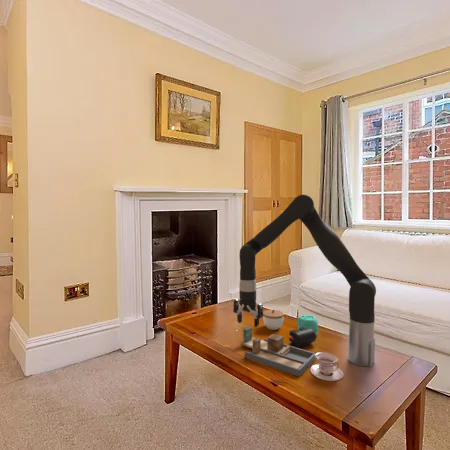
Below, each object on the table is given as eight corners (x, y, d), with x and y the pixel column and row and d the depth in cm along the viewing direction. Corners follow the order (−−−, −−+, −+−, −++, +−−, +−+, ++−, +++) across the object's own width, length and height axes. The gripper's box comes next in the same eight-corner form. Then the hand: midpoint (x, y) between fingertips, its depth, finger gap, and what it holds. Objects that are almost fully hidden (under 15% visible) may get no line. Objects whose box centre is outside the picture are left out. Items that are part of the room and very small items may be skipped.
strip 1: (290, 350, 135) (290, 335, 135) (281, 357, 129) (282, 342, 129) (250, 338, 147) (250, 325, 147) (240, 344, 141) (241, 330, 140)
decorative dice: (318, 336, 152) (318, 320, 152) (301, 336, 152) (301, 320, 152) (313, 330, 160) (313, 314, 160) (297, 330, 160) (297, 314, 160)
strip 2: (302, 366, 122) (302, 350, 122) (296, 371, 118) (297, 354, 118) (257, 351, 134) (257, 336, 134) (251, 356, 130) (251, 341, 130)
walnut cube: (283, 348, 136) (283, 336, 135) (277, 352, 132) (278, 340, 131) (272, 344, 139) (273, 333, 138) (267, 349, 135) (267, 337, 134)
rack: (316, 359, 130) (316, 353, 130) (299, 376, 116) (299, 370, 116) (264, 343, 144) (264, 338, 144) (244, 357, 131) (244, 351, 131)
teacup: (303, 372, 120) (304, 356, 120) (320, 361, 128) (321, 347, 128) (333, 385, 111) (333, 368, 111) (349, 373, 119) (349, 357, 119)
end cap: (299, 350, 138) (299, 335, 137) (288, 344, 144) (288, 329, 143) (315, 345, 143) (316, 330, 143) (304, 339, 149) (304, 325, 149)
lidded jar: (283, 332, 157) (284, 313, 157) (262, 331, 159) (262, 312, 158) (283, 324, 168) (283, 307, 167) (262, 323, 169) (263, 305, 169)
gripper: (265, 289, 141) (266, 325, 142) (239, 285, 149) (239, 318, 150) (257, 293, 135) (257, 330, 135) (230, 288, 143) (230, 323, 144)
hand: (247, 324), depth 143 cm, fingers open, 8 cm apart
